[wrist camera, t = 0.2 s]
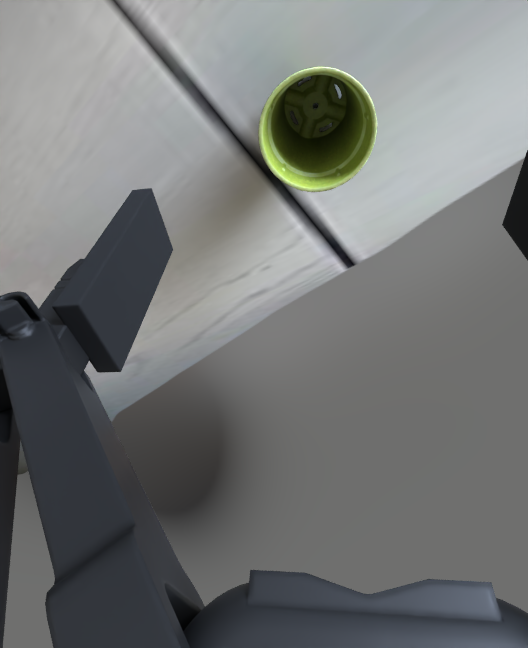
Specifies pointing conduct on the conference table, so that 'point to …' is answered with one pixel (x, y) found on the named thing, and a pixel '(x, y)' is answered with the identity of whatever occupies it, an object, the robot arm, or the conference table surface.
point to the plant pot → (317, 129)
